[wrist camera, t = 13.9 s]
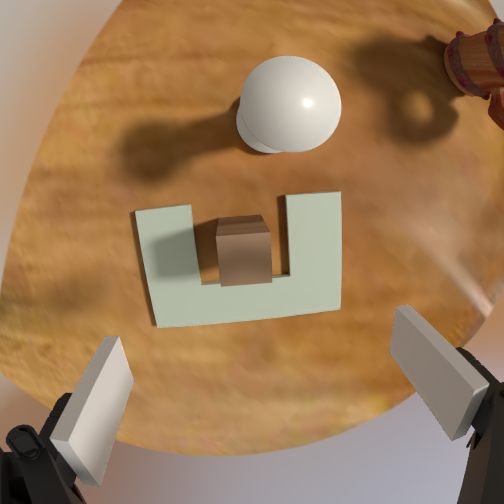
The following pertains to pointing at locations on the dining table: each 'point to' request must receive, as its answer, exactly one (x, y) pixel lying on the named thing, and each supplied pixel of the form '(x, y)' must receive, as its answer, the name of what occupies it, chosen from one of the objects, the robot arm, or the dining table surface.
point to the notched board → (243, 296)
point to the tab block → (244, 251)
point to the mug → (479, 66)
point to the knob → (288, 106)
